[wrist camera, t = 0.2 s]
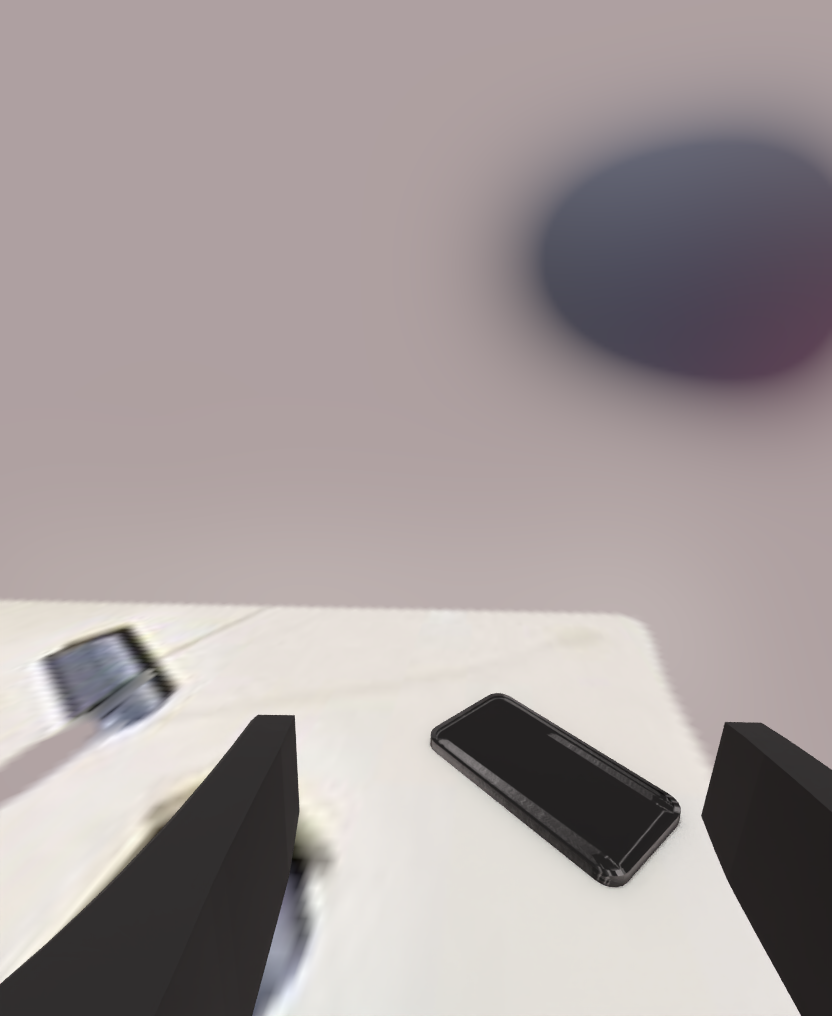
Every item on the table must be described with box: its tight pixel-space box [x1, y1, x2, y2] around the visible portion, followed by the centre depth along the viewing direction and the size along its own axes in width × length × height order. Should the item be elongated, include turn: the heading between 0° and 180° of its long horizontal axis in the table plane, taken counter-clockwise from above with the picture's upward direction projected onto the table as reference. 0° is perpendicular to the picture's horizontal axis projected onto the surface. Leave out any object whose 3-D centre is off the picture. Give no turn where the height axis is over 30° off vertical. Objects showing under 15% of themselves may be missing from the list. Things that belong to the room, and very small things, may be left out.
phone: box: [431, 693, 681, 887], centre depth 38 cm, size 8×1×15 cm
